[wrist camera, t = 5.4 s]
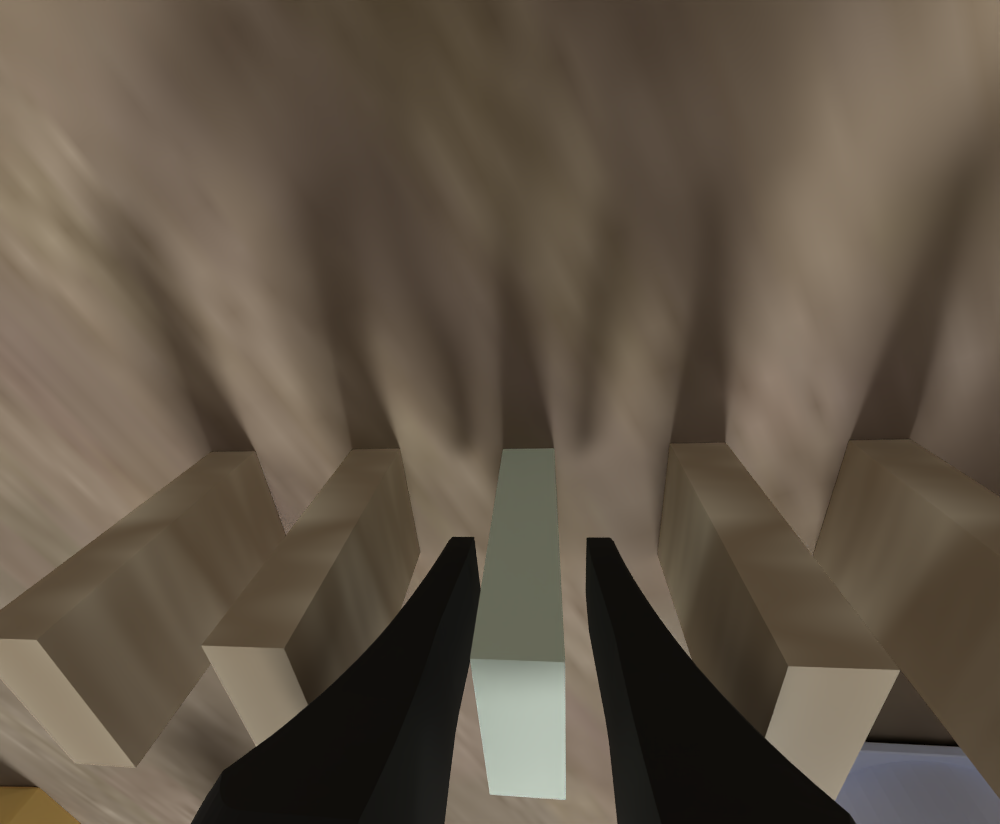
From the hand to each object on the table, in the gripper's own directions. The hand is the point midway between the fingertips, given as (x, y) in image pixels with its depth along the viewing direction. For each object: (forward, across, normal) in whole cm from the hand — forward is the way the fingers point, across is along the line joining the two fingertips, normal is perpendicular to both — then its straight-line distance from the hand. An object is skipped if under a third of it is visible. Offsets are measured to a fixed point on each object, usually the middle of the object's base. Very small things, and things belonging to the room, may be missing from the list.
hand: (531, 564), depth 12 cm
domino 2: (+3, +5, 0) cm, 6 cm away
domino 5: (+3, -10, 0) cm, 10 cm away
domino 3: (+3, 0, 0) cm, 3 cm away
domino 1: (+3, +10, 0) cm, 10 cm away
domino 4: (+3, -5, 0) cm, 6 cm away
